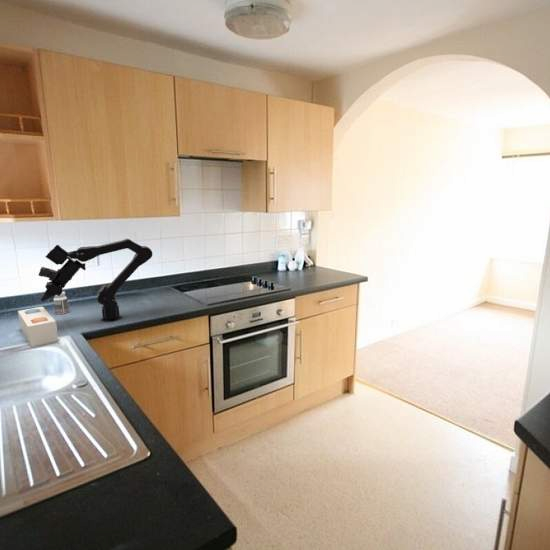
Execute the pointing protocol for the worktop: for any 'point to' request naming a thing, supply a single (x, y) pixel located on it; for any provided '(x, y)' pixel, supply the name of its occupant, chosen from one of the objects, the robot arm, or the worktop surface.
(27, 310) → the slate button
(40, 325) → the white slotted box
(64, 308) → the pill bottle
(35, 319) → the terracotta button
